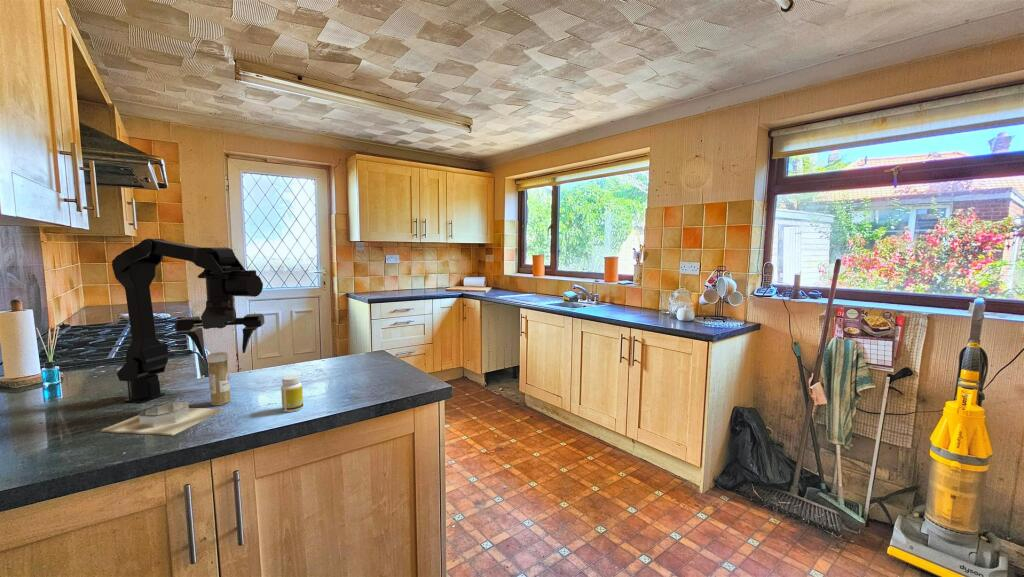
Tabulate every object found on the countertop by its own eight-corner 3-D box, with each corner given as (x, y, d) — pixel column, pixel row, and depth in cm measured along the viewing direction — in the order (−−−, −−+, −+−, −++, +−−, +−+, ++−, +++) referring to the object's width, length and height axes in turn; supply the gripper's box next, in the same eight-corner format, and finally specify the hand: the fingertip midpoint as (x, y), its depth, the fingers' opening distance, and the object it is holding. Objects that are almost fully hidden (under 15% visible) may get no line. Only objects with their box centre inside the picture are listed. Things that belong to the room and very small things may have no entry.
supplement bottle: (307, 406, 109) (305, 375, 108) (292, 413, 105) (290, 380, 104) (293, 404, 111) (291, 373, 110) (278, 411, 106) (275, 378, 105)
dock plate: (101, 431, 95) (101, 430, 95) (159, 408, 109) (159, 406, 109) (172, 435, 93) (172, 433, 93) (223, 410, 107) (223, 409, 107)
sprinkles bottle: (231, 403, 112) (227, 354, 110) (210, 407, 109) (206, 356, 108) (231, 398, 115) (227, 350, 114) (210, 402, 113) (206, 353, 112)
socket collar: (129, 426, 97) (128, 415, 97) (166, 411, 106) (165, 401, 106) (164, 427, 96) (164, 417, 96) (198, 412, 105) (198, 402, 105)
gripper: (163, 301, 99) (168, 365, 100) (255, 298, 106) (258, 358, 107) (180, 295, 109) (185, 354, 111) (263, 293, 116) (266, 348, 118)
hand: (223, 354), depth 111 cm, fingers open, 9 cm apart
